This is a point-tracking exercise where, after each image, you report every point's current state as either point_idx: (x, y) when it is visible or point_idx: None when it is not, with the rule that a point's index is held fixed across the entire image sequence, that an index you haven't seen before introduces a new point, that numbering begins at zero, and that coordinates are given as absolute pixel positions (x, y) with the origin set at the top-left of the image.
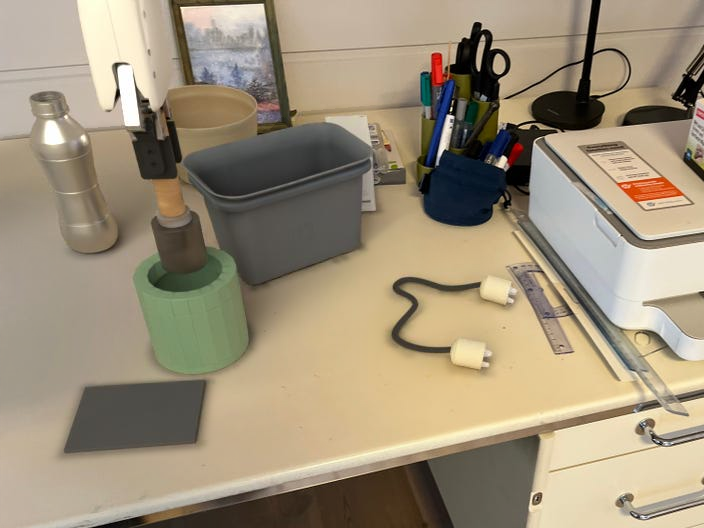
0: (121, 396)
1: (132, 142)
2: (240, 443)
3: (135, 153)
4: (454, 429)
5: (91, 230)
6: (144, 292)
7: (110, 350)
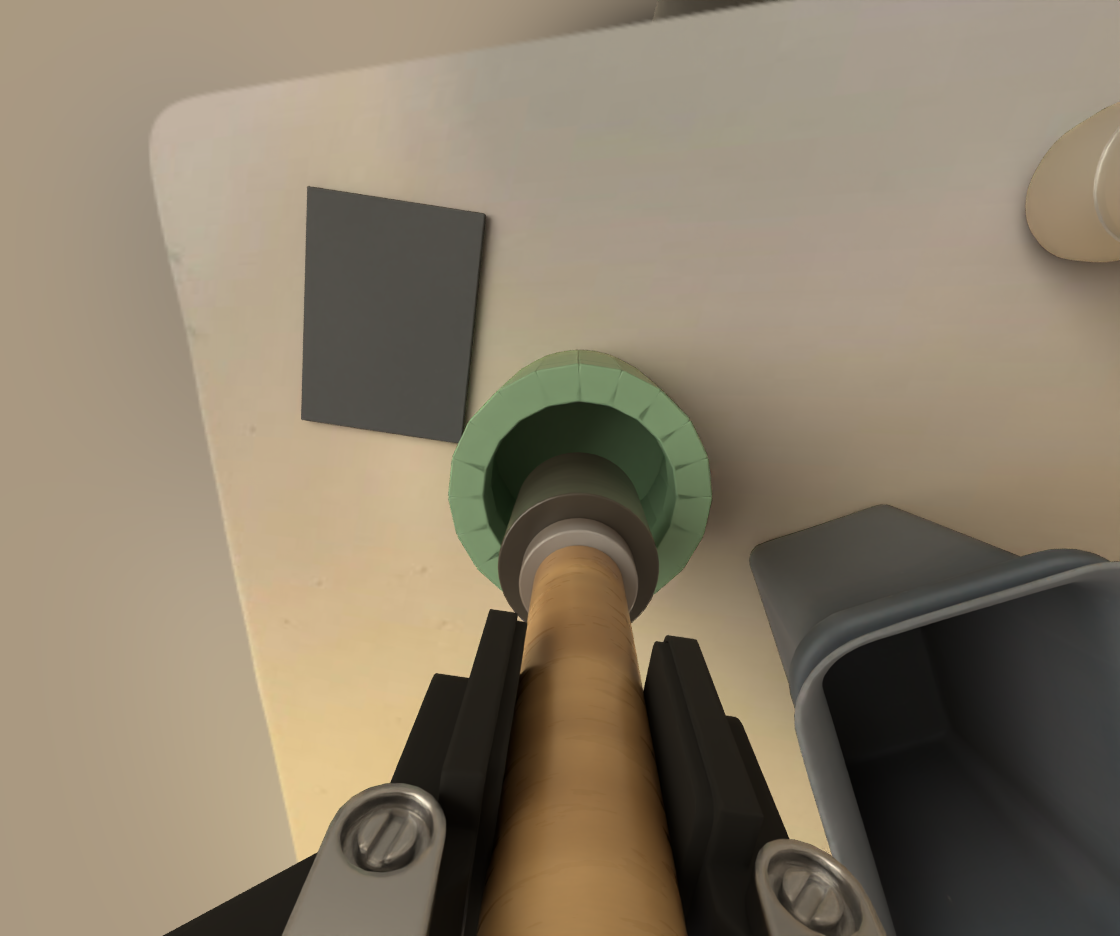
0: (440, 289)
1: (450, 749)
2: (295, 489)
3: (468, 693)
4: (283, 784)
5: (1076, 195)
6: (498, 395)
7: (606, 258)
